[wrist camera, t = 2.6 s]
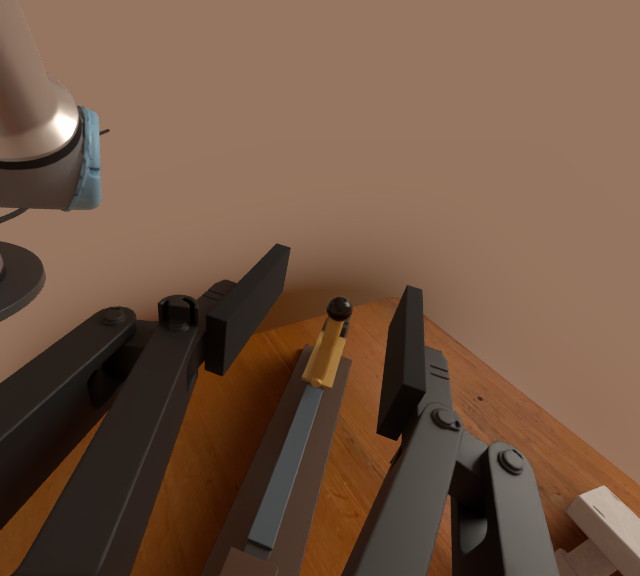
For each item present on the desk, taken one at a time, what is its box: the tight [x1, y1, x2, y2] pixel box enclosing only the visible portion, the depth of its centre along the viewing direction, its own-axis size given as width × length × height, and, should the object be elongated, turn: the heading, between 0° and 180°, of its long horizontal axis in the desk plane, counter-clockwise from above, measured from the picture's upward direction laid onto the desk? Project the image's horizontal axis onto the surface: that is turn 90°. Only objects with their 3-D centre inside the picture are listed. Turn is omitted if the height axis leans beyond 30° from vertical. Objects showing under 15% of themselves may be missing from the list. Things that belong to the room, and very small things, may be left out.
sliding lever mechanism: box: [200, 315, 352, 576], centre depth 31 cm, size 29×7×9 cm, turn 165°
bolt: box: [311, 296, 353, 388], centre depth 32 cm, size 7×2×10 cm, turn 165°
